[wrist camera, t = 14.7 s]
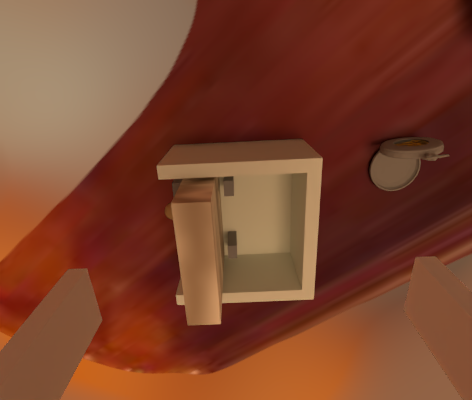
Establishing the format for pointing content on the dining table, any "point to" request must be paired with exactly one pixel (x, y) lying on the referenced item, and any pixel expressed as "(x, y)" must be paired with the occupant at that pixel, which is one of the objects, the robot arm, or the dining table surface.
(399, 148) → the pocket watch
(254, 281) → the cabinet
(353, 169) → the dining table surface
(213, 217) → the door
